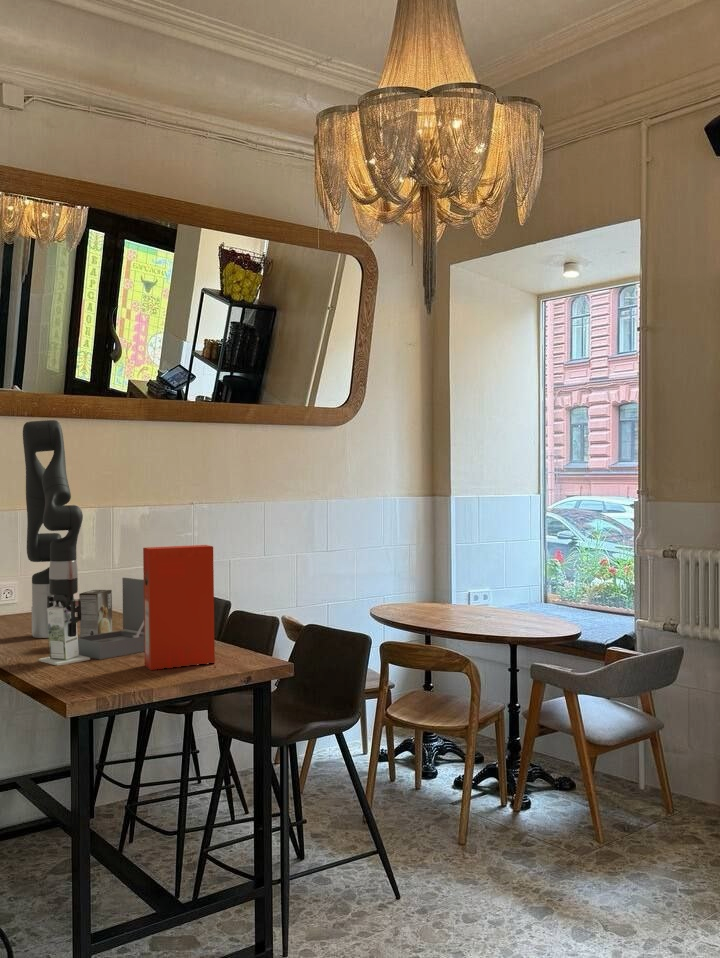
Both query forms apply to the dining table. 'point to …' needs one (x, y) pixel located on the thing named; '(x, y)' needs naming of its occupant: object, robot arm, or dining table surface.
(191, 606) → the file binder
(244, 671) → the dining table surface
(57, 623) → the syrup box
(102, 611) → the coffee box
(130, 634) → the case
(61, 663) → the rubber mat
